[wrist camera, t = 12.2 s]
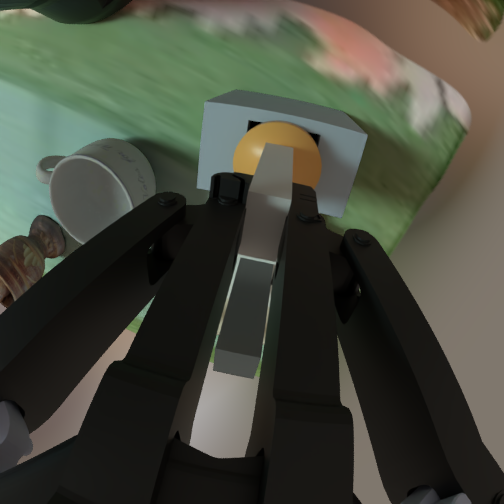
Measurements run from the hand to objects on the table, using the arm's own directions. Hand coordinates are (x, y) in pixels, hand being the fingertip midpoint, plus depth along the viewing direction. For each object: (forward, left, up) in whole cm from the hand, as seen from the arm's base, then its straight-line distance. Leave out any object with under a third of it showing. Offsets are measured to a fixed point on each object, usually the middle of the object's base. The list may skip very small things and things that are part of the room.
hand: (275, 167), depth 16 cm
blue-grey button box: (0, 0, -12) cm, 12 cm away
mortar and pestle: (+21, -33, -12) cm, 41 cm away
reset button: (0, 0, -8) cm, 8 cm away
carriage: (+12, 0, -10) cm, 16 cm away
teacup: (+7, -18, -12) cm, 23 cm away
